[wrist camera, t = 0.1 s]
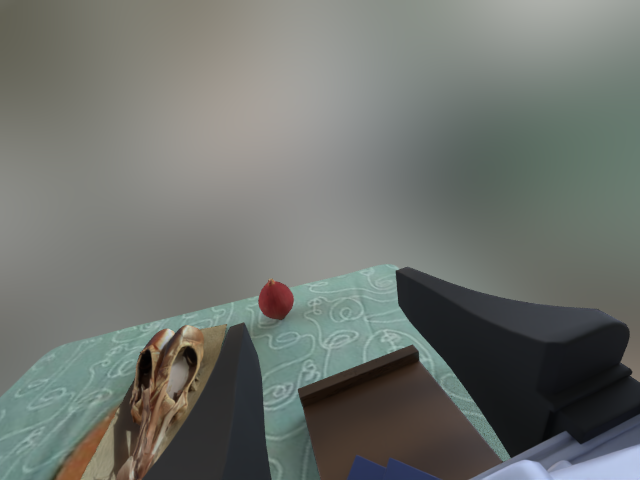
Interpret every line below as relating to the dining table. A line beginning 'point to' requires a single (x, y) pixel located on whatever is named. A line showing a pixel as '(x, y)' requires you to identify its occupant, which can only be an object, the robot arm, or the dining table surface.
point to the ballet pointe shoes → (156, 401)
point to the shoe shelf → (391, 421)
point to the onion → (275, 300)
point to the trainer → (385, 471)
